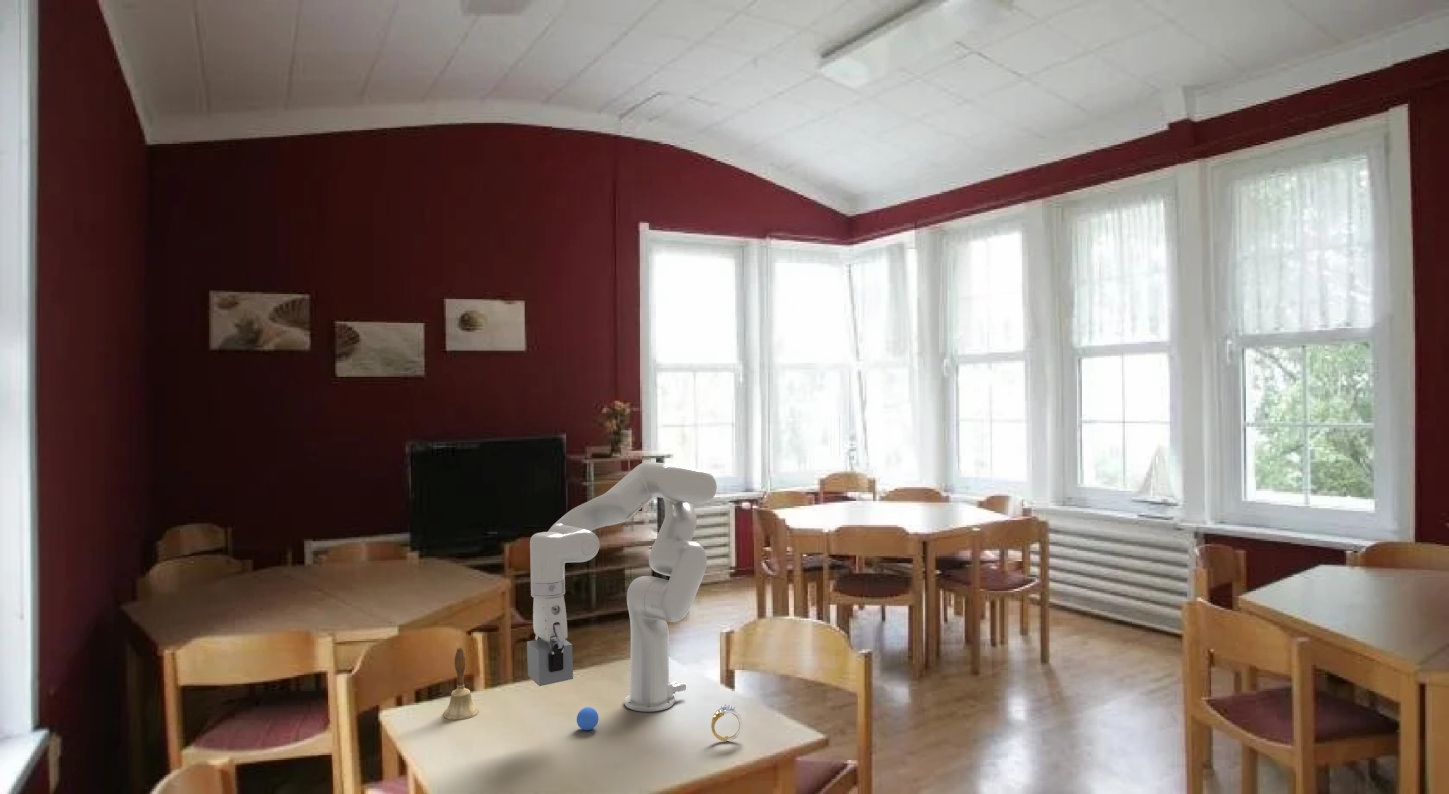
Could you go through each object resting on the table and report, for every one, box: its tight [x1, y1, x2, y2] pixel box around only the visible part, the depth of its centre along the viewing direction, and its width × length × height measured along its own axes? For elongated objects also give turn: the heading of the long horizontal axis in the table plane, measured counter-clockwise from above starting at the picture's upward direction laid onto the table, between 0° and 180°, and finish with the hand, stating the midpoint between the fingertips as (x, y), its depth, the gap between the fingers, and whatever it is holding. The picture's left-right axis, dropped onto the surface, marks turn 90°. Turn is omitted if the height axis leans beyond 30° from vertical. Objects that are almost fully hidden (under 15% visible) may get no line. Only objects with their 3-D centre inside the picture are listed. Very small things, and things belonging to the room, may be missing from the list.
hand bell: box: [442, 647, 479, 721], centre depth 208 cm, size 8×8×16 cm
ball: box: [576, 706, 599, 731], centre depth 198 cm, size 5×5×5 cm
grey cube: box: [526, 637, 574, 687], centre depth 193 cm, size 8×8×8 cm
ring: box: [710, 704, 743, 742], centre depth 191 cm, size 7×3×8 cm, turn 92°
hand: (549, 665), depth 193 cm, fingers closed on grey cube, 8 cm apart
